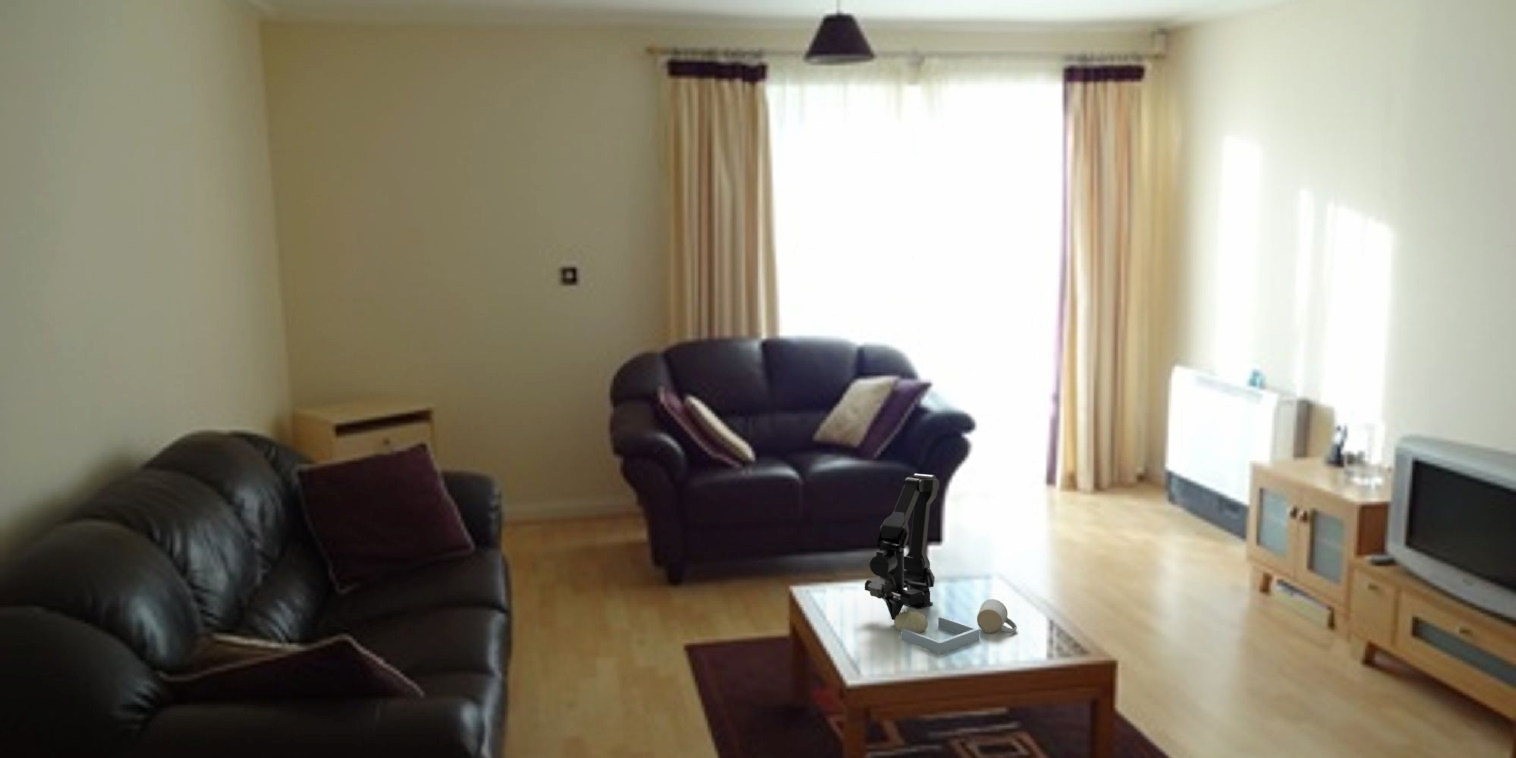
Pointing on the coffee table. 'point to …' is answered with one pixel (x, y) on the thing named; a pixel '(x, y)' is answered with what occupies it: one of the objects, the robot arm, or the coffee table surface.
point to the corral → (965, 637)
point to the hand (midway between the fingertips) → (894, 619)
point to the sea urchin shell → (911, 621)
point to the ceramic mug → (994, 617)
